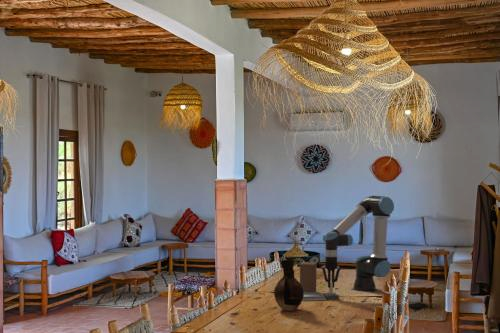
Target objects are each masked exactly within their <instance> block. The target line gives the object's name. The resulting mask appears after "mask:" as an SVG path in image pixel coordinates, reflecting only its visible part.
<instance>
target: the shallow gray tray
mask: <svg viewBox="0 0 500 333" xmlns="http://www.w3.org/2000/svg"><path fill="white" fill-rule="evenodd" d="M326 300H327V299H326V298H325V296H324V295H323V293H321V292H320V291H316V292H304V296H303V300H302V302H303V301H307V302H308V301H326Z"/></svg>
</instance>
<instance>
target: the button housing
mask: <svg viewBox="0 0 500 333" xmlns="http://www.w3.org/2000/svg"><path fill="white" fill-rule="evenodd" d="M328 293H329V292H325V293H324V292H323V293H322V295H324V296H325V298H326V300H339V298H340V295H339V294H338V293H336V292H333V293H334V295H328Z"/></svg>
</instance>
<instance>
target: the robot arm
mask: <svg viewBox="0 0 500 333" xmlns="http://www.w3.org/2000/svg"><path fill="white" fill-rule="evenodd" d="M394 210H395V203H394V200H392V198H391V197H389V196H386V195H385V196H384V195H371V196H367V197H365V198H364V199H363V200H361V201H360V202H358V204H357V205H356V206H355V208H354V210H352V211H351V212H350V213H349V214H348V215H347V216H346V217H345V218H344V219H342V221H340V222H339V223H338V224H337V225H336V226H335V227H334V228H332V229H331V230H330V231H327V232H325V233H324V234H323V235H322V240H323V241H324V243H325V252H324V253H325V254H324V255H325V259H324V260H325V261H324V262H325V263H324V265H323V266H321V270H322V273H323V279H324V281H325V282H326V283H327V288H328V290H329V292H328V293H334V290H333V289H334V288H335V283H337V282H338V278H339V276H340V271H341V270H342V267H341V266H339V264H338V247H349V246H352V245H353V242H354V238H353V236H352V235H351V234H349V233H348V231H349V230H350V229H352V228H353V227H354V226H355V225H356V224H357V223H358V222H359V221H360V220H361V219H362V218H363V217H367V216H368V215H369V214H371V215H372V217H373V219H374V225H373V237H372V238H373V239H372V254H371V255H361V256H360V255H358V256H357V257H356V258H355V260H356V261H355V275H356V276H355V280H354V283H353V286H352V287H353V290H356V291H360V290H362V292H370V291H369V290H373V291H375V289H377V288H376V287H377V286H376V282H375V280H374V277H376V278H385V277H387V276H388V275H389V274H390V272H391V269H392V267H391V264H390V261H389V260H388V256H387V254H386V250H387V237H388V235H387V233H388V231H387V230H388V219H390V217H391V214H392V213H393V211H394ZM326 269H327V272H326ZM335 271H336V272H335Z"/></svg>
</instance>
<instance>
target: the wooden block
mask: <svg viewBox="0 0 500 333" xmlns="http://www.w3.org/2000/svg"><path fill="white" fill-rule="evenodd" d="M317 263H318V262H312V261H302V262H300V264H299V283H300V284H301V286H302V288H303V292H317Z"/></svg>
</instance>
